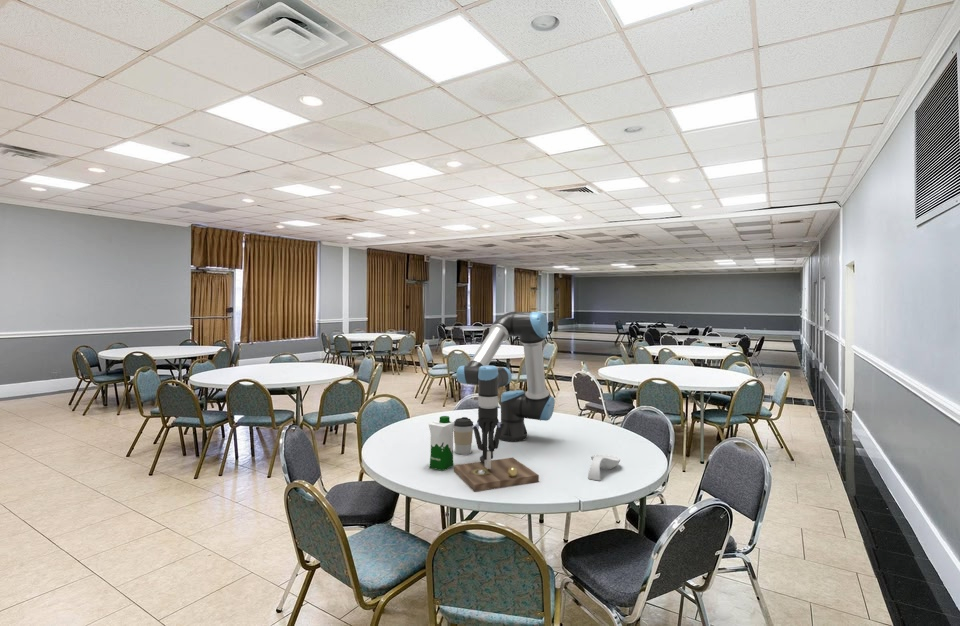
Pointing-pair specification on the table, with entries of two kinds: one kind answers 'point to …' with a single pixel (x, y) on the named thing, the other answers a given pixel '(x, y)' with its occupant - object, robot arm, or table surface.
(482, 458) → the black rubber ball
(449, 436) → the milk carton
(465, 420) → the coffee cup
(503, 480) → the board
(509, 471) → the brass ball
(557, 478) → the table surface
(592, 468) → the white curved piece
